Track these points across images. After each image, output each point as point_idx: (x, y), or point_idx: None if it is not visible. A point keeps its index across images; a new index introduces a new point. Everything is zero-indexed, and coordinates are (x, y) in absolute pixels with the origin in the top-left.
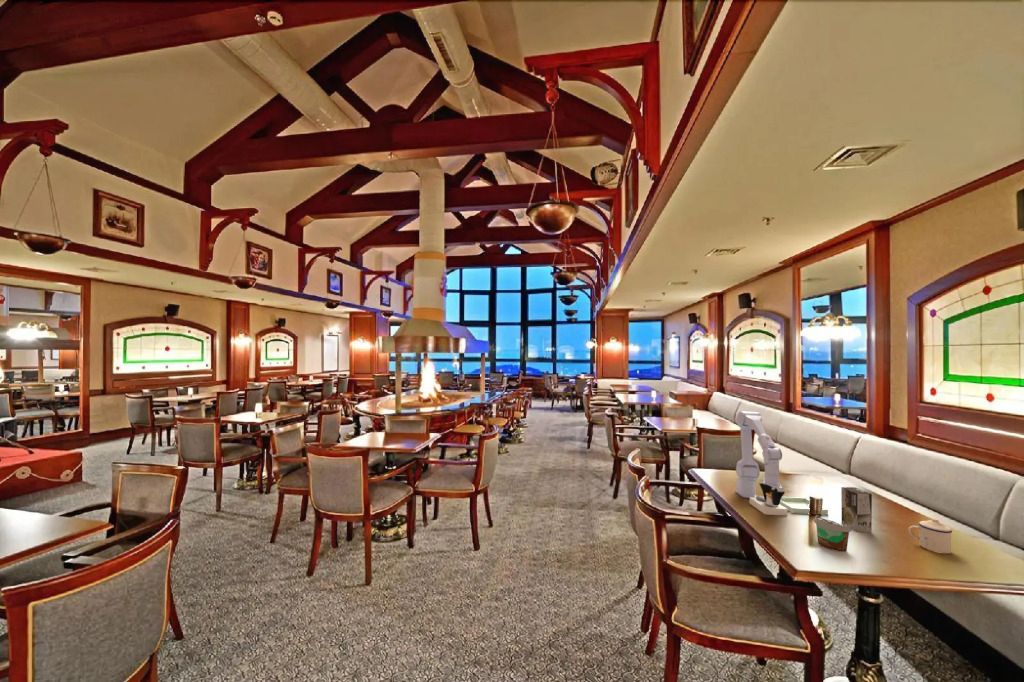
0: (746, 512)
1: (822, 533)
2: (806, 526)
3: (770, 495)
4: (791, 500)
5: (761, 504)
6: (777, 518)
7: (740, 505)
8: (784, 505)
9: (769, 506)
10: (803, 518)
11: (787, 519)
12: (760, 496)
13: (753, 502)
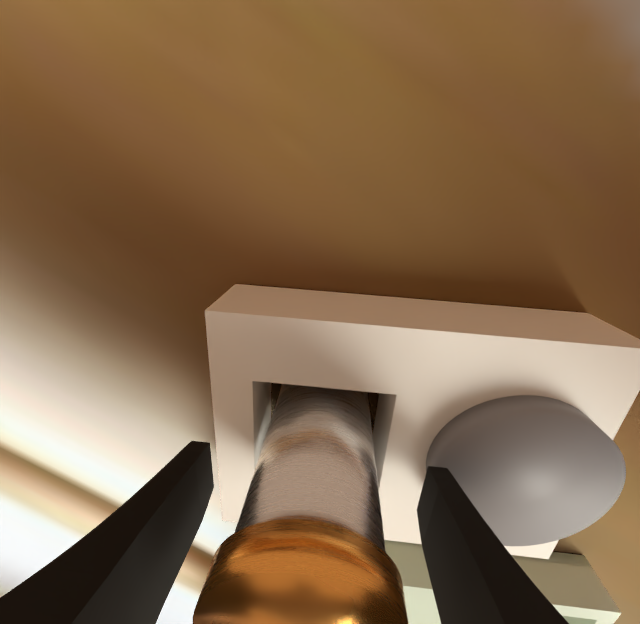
0: (271, 55)
1: None
2: (39, 456)
3: (216, 569)
4: None
5: (341, 342)
6: (150, 344)
7: (547, 131)
8: (409, 563)
9: (286, 402)
10: (205, 528)
11: (150, 413)
12: (589, 488)
13: (513, 323)
